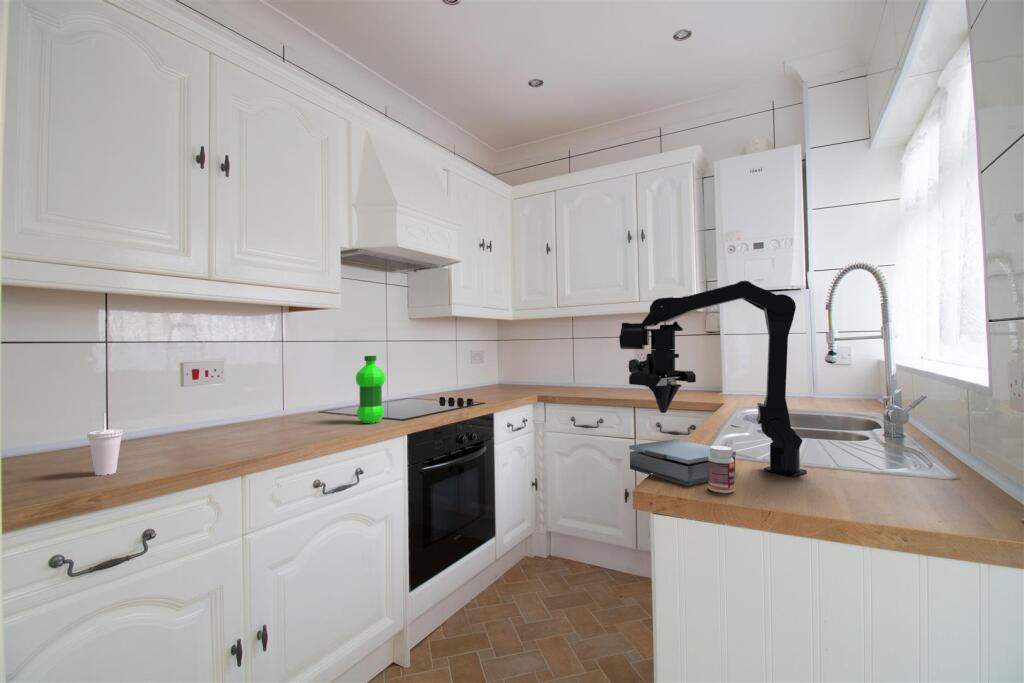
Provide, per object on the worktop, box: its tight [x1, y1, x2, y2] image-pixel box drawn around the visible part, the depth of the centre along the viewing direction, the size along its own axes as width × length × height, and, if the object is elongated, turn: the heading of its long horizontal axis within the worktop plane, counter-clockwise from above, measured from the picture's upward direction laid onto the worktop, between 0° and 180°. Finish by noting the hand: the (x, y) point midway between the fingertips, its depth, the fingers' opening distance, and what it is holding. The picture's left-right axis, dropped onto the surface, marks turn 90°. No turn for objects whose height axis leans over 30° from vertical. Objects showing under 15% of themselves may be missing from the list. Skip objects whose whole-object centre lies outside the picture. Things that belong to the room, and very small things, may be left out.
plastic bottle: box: [355, 355, 386, 424], centre depth 178 cm, size 10×10×25 cm
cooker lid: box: [628, 438, 737, 464], centre depth 108 cm, size 17×16×1 cm
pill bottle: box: [707, 445, 735, 494], centre depth 95 cm, size 5×5×8 cm
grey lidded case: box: [629, 450, 736, 487], centre depth 108 cm, size 16×16×4 cm
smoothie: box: [86, 412, 124, 477], centre depth 110 cm, size 6×6×14 cm
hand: (663, 412), depth 118 cm, fingers closed
